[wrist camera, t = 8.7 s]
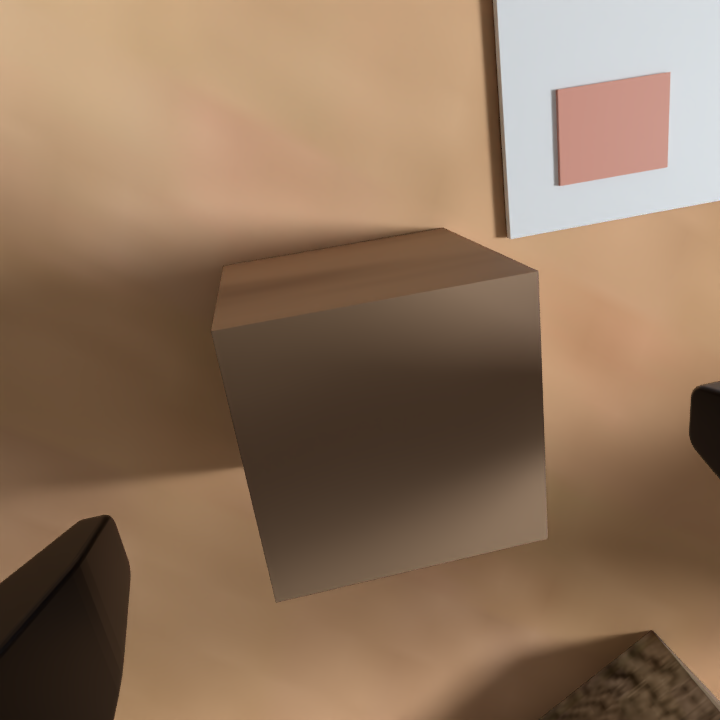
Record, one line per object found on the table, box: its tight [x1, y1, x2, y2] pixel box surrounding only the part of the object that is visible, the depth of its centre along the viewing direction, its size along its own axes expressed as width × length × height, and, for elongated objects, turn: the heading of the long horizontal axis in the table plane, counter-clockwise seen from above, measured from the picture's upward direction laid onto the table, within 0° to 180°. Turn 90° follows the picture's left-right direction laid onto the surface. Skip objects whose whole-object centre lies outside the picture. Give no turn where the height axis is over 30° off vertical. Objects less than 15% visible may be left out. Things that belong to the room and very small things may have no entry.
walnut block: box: [211, 228, 548, 603], centre depth 12 cm, size 5×5×5 cm
